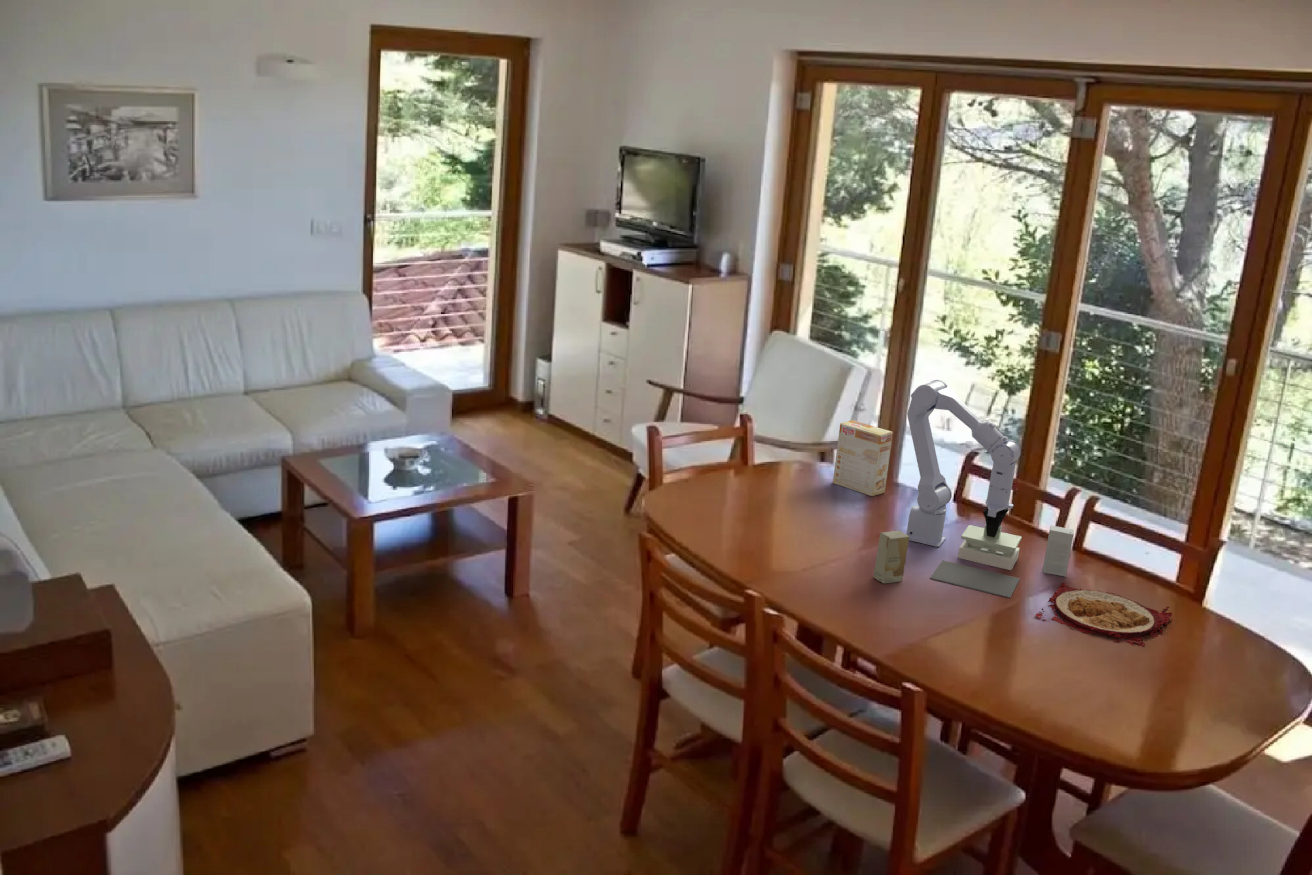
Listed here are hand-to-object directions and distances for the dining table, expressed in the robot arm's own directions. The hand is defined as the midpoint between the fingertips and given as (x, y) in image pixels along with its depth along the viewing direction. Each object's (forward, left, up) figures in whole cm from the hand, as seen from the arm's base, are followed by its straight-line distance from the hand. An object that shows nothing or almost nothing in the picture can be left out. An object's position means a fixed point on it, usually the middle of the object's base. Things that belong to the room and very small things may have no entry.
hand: (991, 534), depth 321 cm
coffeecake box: (-46, +34, -7) cm, 58 cm away
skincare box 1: (-19, -31, -7) cm, 37 cm away
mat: (0, -17, -7) cm, 18 cm away
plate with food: (+32, -22, -8) cm, 39 cm away
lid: (0, 0, -1) cm, 1 cm away
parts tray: (0, 0, -7) cm, 7 cm away
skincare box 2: (+17, +1, -7) cm, 18 cm away
